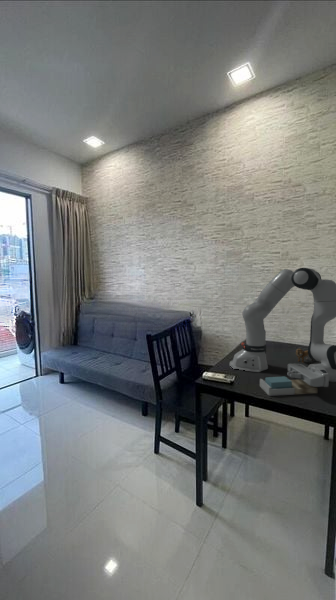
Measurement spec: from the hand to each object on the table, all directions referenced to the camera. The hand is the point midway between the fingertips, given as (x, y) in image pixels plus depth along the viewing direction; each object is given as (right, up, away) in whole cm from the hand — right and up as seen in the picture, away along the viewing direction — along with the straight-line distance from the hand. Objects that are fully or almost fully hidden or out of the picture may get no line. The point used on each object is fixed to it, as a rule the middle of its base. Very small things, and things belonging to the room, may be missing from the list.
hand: (288, 374), depth 122 cm
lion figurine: (+29, -3, +39) cm, 48 cm away
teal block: (0, -4, 0) cm, 5 cm away
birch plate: (+6, -7, +1) cm, 9 cm away
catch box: (-6, -8, 0) cm, 10 cm away
